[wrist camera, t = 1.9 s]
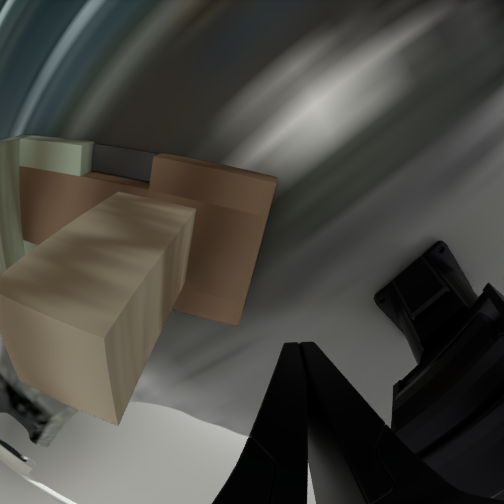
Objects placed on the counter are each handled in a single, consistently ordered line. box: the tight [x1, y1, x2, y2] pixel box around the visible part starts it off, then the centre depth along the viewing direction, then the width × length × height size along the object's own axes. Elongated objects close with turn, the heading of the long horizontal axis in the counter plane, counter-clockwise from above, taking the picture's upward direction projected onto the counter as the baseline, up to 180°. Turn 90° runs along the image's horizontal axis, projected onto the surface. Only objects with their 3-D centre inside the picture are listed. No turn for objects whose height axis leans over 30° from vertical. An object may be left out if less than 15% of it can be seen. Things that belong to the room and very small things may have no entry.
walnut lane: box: [0, 135, 277, 326], centre depth 18 cm, size 19×10×4 cm, turn 77°
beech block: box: [0, 192, 196, 426], centre depth 13 cm, size 5×5×11 cm
